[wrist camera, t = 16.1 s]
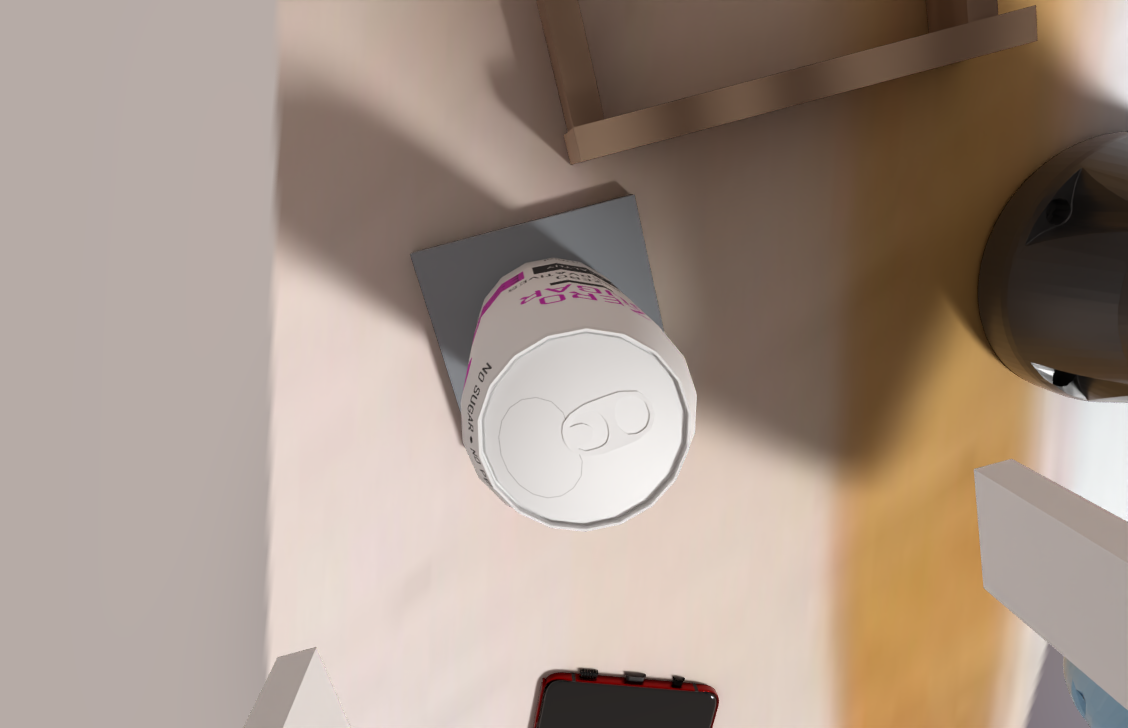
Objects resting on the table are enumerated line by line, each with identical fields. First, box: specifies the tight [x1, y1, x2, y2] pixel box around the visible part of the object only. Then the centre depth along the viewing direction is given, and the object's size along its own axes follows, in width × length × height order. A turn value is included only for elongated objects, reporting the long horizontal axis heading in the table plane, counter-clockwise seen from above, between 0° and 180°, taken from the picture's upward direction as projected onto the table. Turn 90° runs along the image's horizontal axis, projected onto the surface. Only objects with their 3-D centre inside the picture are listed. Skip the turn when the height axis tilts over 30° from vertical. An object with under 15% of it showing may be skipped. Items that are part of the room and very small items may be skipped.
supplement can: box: [461, 258, 697, 532], centre depth 28 cm, size 8×8×15 cm
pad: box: [410, 194, 664, 412], centre depth 36 cm, size 12×12×1 cm
